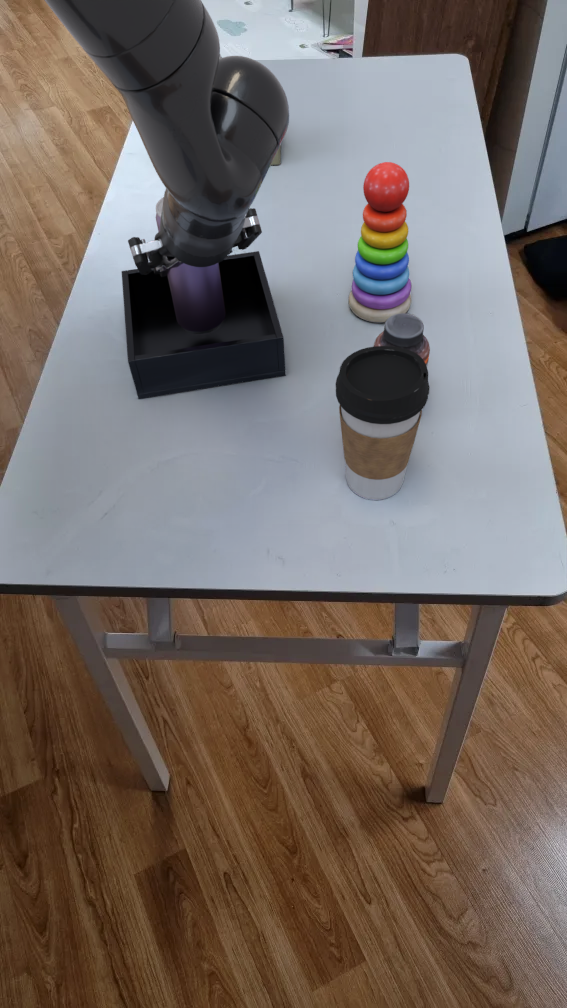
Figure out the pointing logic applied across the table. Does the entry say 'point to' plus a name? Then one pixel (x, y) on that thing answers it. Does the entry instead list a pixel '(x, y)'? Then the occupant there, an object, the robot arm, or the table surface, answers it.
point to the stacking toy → (382, 247)
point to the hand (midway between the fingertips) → (188, 260)
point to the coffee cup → (380, 416)
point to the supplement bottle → (405, 335)
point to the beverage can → (195, 293)
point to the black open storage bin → (202, 357)
